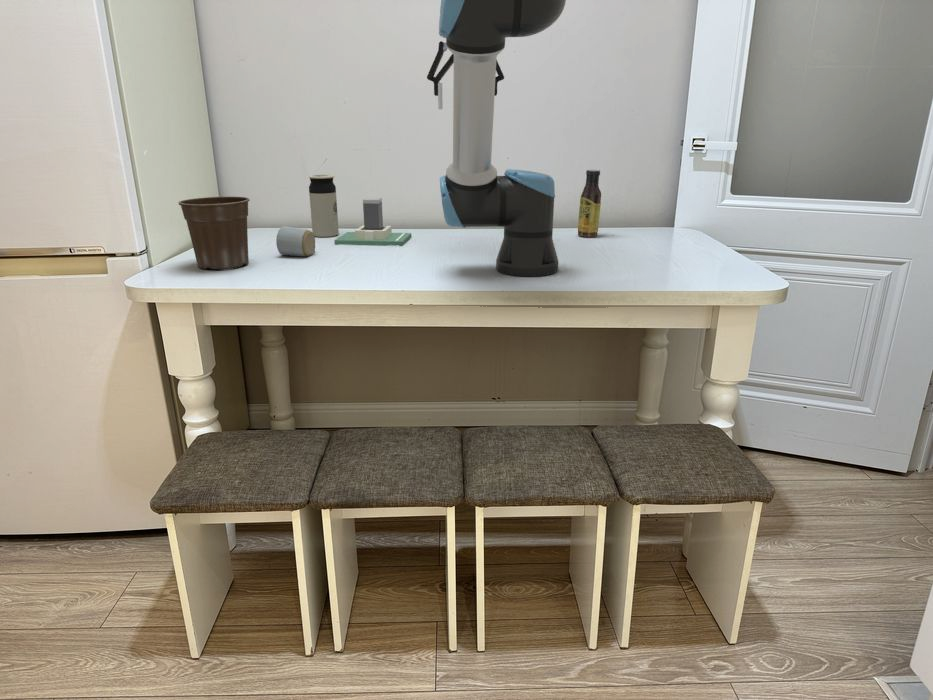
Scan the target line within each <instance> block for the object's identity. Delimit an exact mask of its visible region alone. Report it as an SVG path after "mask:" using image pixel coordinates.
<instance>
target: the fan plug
mask: <svg viewBox="0 0 933 700" xmlns="http://www.w3.org/2000/svg"><path fill="white" fill-rule="evenodd" d="M362 206H363V208H362V209H363V225H364V230H383V226H384V218H383V198H382V197H366V198H364V199H363V200H362Z"/></svg>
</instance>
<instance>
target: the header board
mask: <svg viewBox="0 0 933 700" xmlns="http://www.w3.org/2000/svg"><path fill="white" fill-rule="evenodd" d="M411 238H412V232H393V230H392V225H383V230H364V224H363V225H361V226H359V227H358V228H357V229H355V231H347V232H344V234H341V235H340V236H339V237H337V238H335V239H334V241H333V242H334V245H339V244H355V245H354V246H387V245H399V246H398V247H403V246H404V245H405V244H406V243H407V242H408V241H409V240H410V239H411ZM356 244H357V245H356Z"/></svg>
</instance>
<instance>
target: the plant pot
mask: <svg viewBox="0 0 933 700" xmlns="http://www.w3.org/2000/svg"><path fill="white" fill-rule="evenodd" d="M250 200H251V199H250V198H249V197H245V196H206V197H197V198H189V199H188V198H187V199H183V200H180V201H178V205H179V206H180V208H181V210H182V214H183V217H184V220H185V221H186V225H187V228H188V233H189V237H190V241H191V244H192V248H193V251H194V256H195V260H196V265H197V268H199V269H201V268H203V269H202V270H208V269H211V270H213V269H219V270H223V269H225V270H233V269H235V268H236V269H237V268H241V267H243V265H244V266H247V265H248V264H249V239H248V238H249V236H248V216H249V202H250ZM207 268H208V269H207ZM232 268H233V269H232Z"/></svg>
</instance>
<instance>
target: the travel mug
mask: <svg viewBox="0 0 933 700" xmlns="http://www.w3.org/2000/svg"><path fill="white" fill-rule="evenodd" d="M308 178H309V180H310V181H309V182H310V183H309V185H308V192H309V193H308V194H309V204H310V205H309V206H310V217H311V219H310V220H311V229H312V230H311V232H312V233H313V234H314V237H315V238H333V237H336V235H337V236H339V234H340V232H339V231H340V230H339V216H338V203H337V202H338V201H337V188H336V185H335V182H334V178H335V175H334V174H312V175H308ZM332 236H333V237H332Z"/></svg>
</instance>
